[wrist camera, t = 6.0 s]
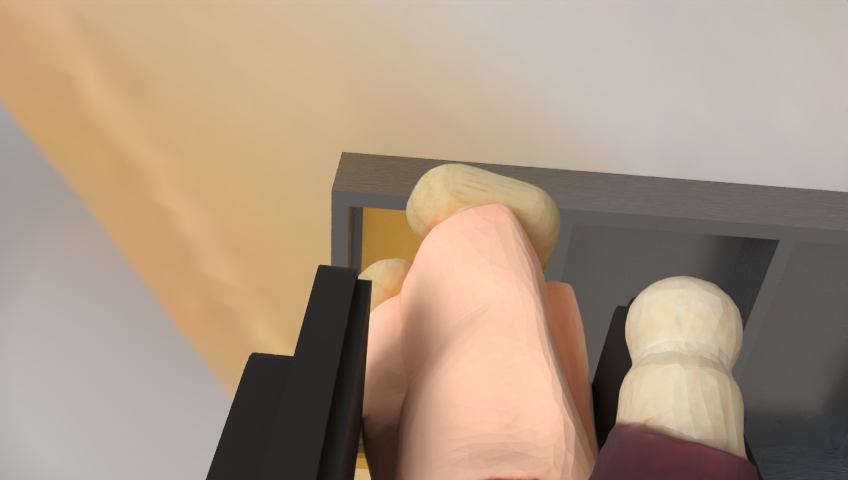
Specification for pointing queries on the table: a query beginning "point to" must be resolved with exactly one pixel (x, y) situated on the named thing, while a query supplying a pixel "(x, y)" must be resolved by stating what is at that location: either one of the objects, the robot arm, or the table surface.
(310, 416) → the robot arm
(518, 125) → the table surface
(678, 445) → the grandmother figurine
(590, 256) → the tray
